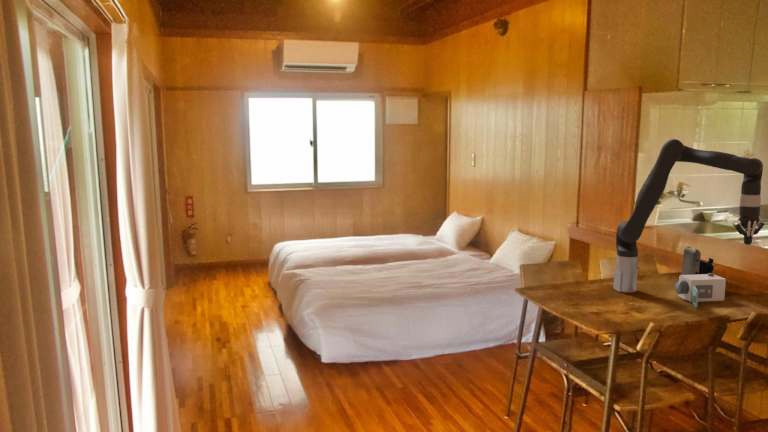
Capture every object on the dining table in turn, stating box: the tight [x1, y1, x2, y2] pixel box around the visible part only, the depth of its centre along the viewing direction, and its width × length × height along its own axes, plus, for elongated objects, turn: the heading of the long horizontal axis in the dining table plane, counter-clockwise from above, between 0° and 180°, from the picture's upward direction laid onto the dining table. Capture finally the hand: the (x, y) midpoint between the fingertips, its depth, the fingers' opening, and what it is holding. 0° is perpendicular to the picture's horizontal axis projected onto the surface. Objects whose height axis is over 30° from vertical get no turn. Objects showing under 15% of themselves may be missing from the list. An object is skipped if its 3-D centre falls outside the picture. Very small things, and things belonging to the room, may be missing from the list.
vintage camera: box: [680, 246, 716, 275], centre depth 270 cm, size 10×15×20 cm, turn 89°
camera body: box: [674, 272, 727, 303], centre depth 253 cm, size 19×9×11 cm, turn 95°
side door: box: [691, 285, 699, 308], centre depth 243 cm, size 11×2×7 cm, turn 158°
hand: (747, 244), depth 242 cm, fingers closed
